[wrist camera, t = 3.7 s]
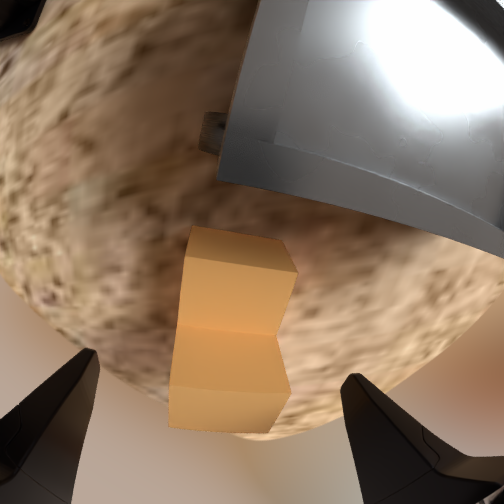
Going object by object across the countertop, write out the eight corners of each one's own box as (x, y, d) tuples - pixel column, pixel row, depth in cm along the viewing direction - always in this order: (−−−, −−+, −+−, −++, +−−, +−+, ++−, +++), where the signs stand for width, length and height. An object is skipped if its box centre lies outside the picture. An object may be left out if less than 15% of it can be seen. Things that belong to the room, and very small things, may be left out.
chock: (251, 338, 15) (267, 432, 10) (179, 330, 14) (168, 427, 9) (281, 239, 13) (325, 327, 7) (192, 224, 12) (173, 311, 6)
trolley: (201, 146, 10) (175, 173, 4) (251, -35, 7) (280, -129, 1) (455, 218, 13) (536, 272, 7) (485, 85, 10) (570, 97, 4)
